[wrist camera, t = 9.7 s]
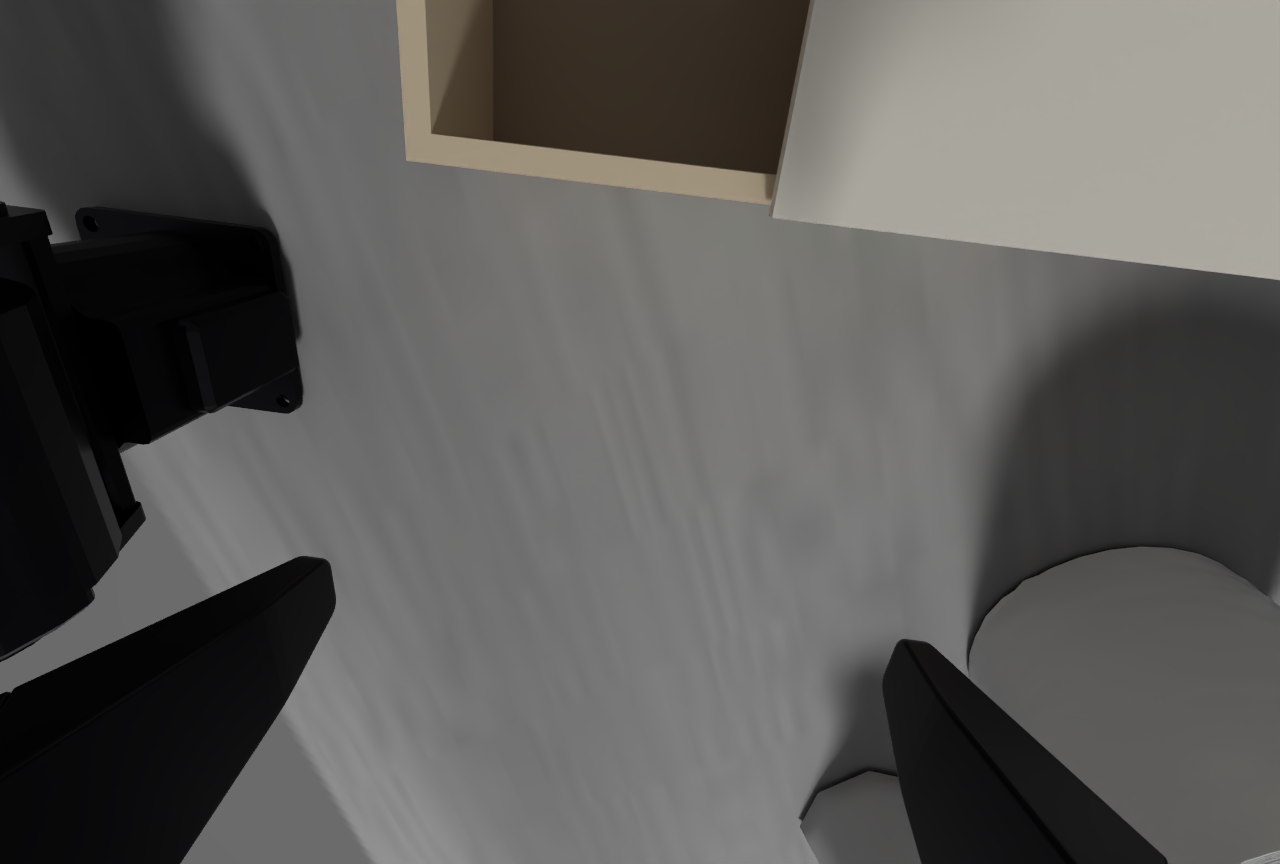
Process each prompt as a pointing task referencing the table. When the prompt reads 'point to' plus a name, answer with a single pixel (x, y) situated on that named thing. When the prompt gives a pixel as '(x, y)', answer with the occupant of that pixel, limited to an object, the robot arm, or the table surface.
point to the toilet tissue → (1150, 694)
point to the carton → (604, 90)
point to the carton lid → (1044, 126)
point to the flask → (861, 823)
